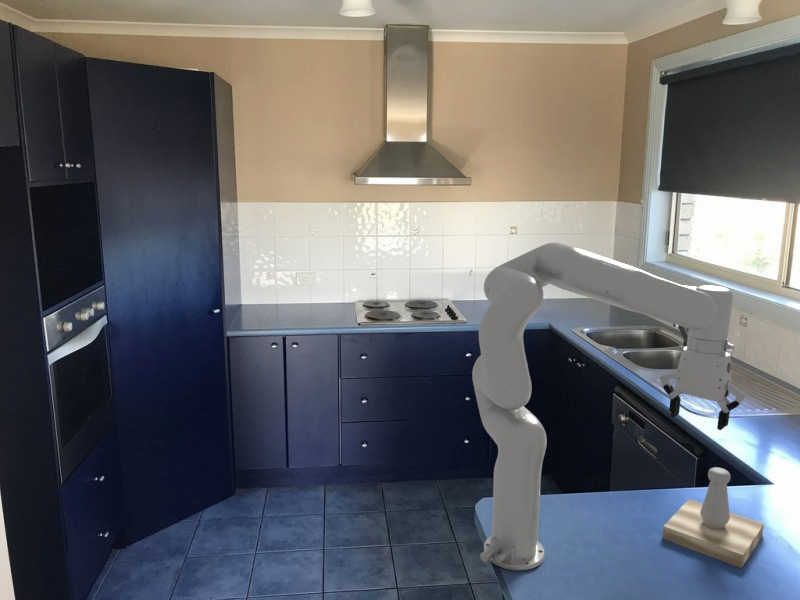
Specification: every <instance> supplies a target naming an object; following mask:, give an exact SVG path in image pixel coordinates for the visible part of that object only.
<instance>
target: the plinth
mask: <svg viewBox="0 0 800 600" xmlns="http://www.w3.org/2000/svg"><path fill="white" fill-rule="evenodd" d="M702 505H703V502H699V501H698V500H694V499H692V498H689V499H687V501H686V502H685V503H684V504H683V505H681V507H680V508H679V509H678V510H677V511H676V512H675V513H674V514H673V515H672V516H671V518H670V519H669V520H667V522H666V523H664V525H663V527H662V539H663V540H665V541H668V542H670V543H671V542H672V543H674V544H677V545H678V546H679V545H680V546H682V547H684V548H687V549H689V550H692V551H695V552H698V553H699V554H702V555H706V556H708V557H711V558H713V559H716V560H719V561H721V562H722V563H723V562H724V563H726V564H728V565H731V566H735V567H737V568H739V569H742V568H743V567H744V565H745V563H746V562H747V560H748V559H749V558H750V556H751V555H752V553H753V551H754V550H755V549H756V547H757V545H758V544H759V542H760V540H761V539H762V537H763V536H764V535H763V534H764V528H765V523H763V522H760V521H758V520H754V519H751V518H748V517H746V516H742V515H739V514H737V513H736V514H735V513H734V512H730V511H729V513H730V519H729V521H728V523H727V524H726V525H725V526H724V527H723V528H722V529H721V530H717V529H711V528H709V527H707V526H705V525H704V522H703V519H702V517H701V514H700V511H701V508H702Z"/></svg>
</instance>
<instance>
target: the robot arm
mask: <svg viewBox="0 0 800 600" xmlns="http://www.w3.org/2000/svg"><path fill="white" fill-rule="evenodd" d="M549 285H551V286H552V285H553V286H554V287H557V288H559V289H562V290H564V291H567V292H570V293H574V294H576V295H580V296H584V297H587V298H589V299H592V300H596V301H599V302H601V303H605V304H606V305H611V306H614V307H616V308H619V309H623V310H626V311H629V312H633V313H638V314H642V315H647V316H649V317H652V318H655V319H658V320H662V321H665V322H667V323H671V324H673V325H676V326H680V327H684V328H686V329H688V332H687V333H688V334H687V343H686V346H684V347H683V349H682V351H681V354H680V357H679V361H678V365H677V368H676V371H673V372H669V373H665V374H662V375H660V377H659V380H660V381H661V384H662V387H663V390H664V391H665V393H666V394H667V396H668V398H669V399H670V400H669V410H668V411H669V412H670V417H671V418H675V417H676V416H678V415H679V414H680V408H681V399H682V398H681V396H680V395H682V394H683V395H687V396H690V397H695V398H699V399H703V400H707V401H710V402H711V401H712V402H716V403H717V405H718V406H719V407H720V409H721V410H720V411H719V412H718V419H717V424H716V425H717V427H716V429H717V430H718V431H722V430H723V429H724V428H726V427H727V426H728V425H729V422H730V413H731V411H732V410H734V409H736V408H737V407H738V406H740V405H741V404H742V403H743V401H744V400H745V399H746V398H747V396H748V394H747V393H745V392H744V391H743V390H741V389H740V388H739V387H737V386H736V385H734V384H733V383H732V360H731V358H732V357H731V354H730V353H729V352H730V351H732V352H733V351H734V350H735V344H732V343H730V342H729V338H728V337H729V331H730V324H731V323H730V321H731V316H732V315H731V314H732V307H733V298H734V294H733V292H732V290H731V289H730V288H729V289H728V288H726V287H723V286H718V285H700V286H689V285H681V284H679V283H676V282H673V281H670V280H667V279H665V278H661V277H659V276H656V275H655V274H654V275H653V274H651V273H649V272H646V271H645V270H642V269H640V268H636V267H634V266H632V265H629V264H625V263H624V262H623V263H622V262H620V261H618V260H617V261H616V260H614V259H610V258H609V257H605V256H602V255H599V254H596V253H593V252H590V251H587V250H584V249H581V248H579V247H575V246H571V245H567V244H564V243H561V242H549V243H546V244H543V245H540V246H538V247H536V248H534V249H532V250H529V251H527V252H525V253H523V254H521V255H519V256H517V257H515V258H513V259H510V260H508V261H507V262H504V263H502V264H500V265H498V266H496V267H495V268H494V269H492V270H491V271H489V273H488V274H487V276H486V277H485V280H484V282H483V291H484V292H483V293H484V295H485V297H486V299H487V300H488V301H489V303H490V305H489V306H488V308H487V309H486V311H485V313H484V315H483V317H482V318H481V321H480V324H479V326H478V327H479V328H478V343H479V348H480V355H479V356H478V357H477V359H476V361H475V363H474V365H473V367H472V371H471V373H472V374H471V375H472V383H473V387H474V388H473V389H474V394H475V397H476V402H477V406H478V411H479V415H480V419H481V423H482V426H483V428H484V429H485V431H486V432H487V434H488V435H489V436H490V438H491V439H492V440H493V441H494V443H495V444H496V445H497V451H498V452H497V458H496V461H495V463H494V469H493V483H492V484H493V491H492V492H493V493H492V520H491V522H492V523H491V535H490V536H489V537H487V538H486V539H485V541H484V544H483V552H481V553H480V555H479V557H480V560H481V561H482V562H483V563H488V561H490V562H491V563H492V564H494V565H495V566H497V567H499V568H503V569H506V570H510V571H529V570H532V569H534V568H536V567H538V566H540V565H541V564H542V563H543V562H544V560H545V553H546V552H545V548H544V547H543V545H542V544H541V542H539V541H538V539H539V538H538V537H539V522H540V521H539V520H540V519H539V517H540V504H541V503H540V502H541V501H540V498H541V479H542V469H543V462H544V457H545V454H546V449H547V445H548V444H547V442H548V441H547V433H546V430H545V428H544V426H543V425H542V423H541V422H540V420H539V419H538V417H536V416H535V415H534V414H533V413H532V412H531V411H530V410H528V408H526V407H525V406H526V405H527V404H528V403H529V401H530V399H531V396H532V391H533V390H532V387H533V386H532V380H531V376H530V371H529V367H528V365H529V364H528V361H527V357H526V351H525V344H524V332H525V329H526V326H527V325H528V323H529V322H530V320H531V319H532V318H533V317H534V316H535V315H536V313H538V311H539V309H540V308H541V307H542V304H543V301H544V290H543V288H545V287H546V286H549ZM728 351H729V352H728ZM673 379H675V381H674V382H675V383H674V387H673V386H672V384H671V382H670V380H673ZM730 393H731V394H732V395H734V396H735V399H734V400H733V401H732V402H731V401H730V400H729V399H728V397H729V396H730Z"/></svg>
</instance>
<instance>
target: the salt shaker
mask: <svg viewBox="0 0 800 600" xmlns="http://www.w3.org/2000/svg"><path fill="white" fill-rule="evenodd" d="M707 477H708V480H709V481H710V482H709V484H708V488H707V491H706V493H705V494H706V495H705V498H704V499H703V502H702V503H703V505H702V508H701V511H700V514H701V517H702V519H703V522H704V525H705V526H707V527H709V528H711V529H717V530H721V529H722V528H723V527H724V526H725V525H726V524H727V523H728V521H729V519H730V513H731V512H730V505H729V496H728V495H729V494H728V483H729V482H730V481H731V474H730V472H729V471H728V470H726V469H725V468H722V467H717V466H715V467H711V468H709V470H708V473H707ZM729 512H730V513H729Z"/></svg>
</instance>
